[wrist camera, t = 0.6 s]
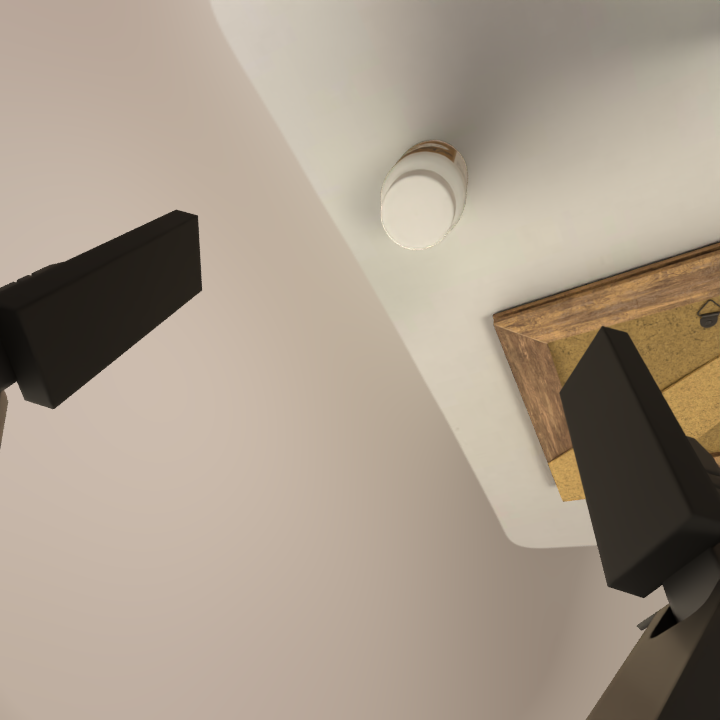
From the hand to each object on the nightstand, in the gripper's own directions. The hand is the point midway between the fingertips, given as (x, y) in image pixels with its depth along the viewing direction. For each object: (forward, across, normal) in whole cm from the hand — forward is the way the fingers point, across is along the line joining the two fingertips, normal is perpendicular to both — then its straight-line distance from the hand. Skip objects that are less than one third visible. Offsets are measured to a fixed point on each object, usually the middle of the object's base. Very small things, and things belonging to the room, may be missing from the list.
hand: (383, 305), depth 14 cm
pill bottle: (+16, 0, +1) cm, 16 cm away
